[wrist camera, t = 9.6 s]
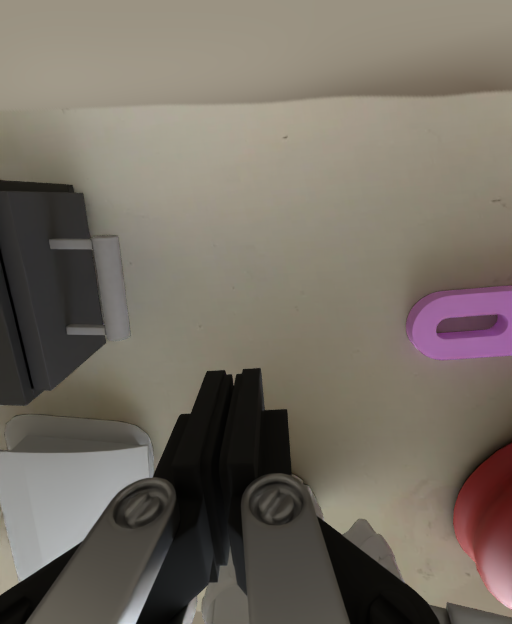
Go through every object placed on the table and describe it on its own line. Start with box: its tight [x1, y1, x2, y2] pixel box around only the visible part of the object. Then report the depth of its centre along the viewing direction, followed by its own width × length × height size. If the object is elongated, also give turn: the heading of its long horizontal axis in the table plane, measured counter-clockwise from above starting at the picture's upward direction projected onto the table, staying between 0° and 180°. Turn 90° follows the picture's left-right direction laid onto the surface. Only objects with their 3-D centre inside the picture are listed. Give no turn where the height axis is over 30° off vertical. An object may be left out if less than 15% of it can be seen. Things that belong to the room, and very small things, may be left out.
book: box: [0, 414, 154, 583], centre depth 35 cm, size 15×23×4 cm, turn 176°
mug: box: [201, 474, 405, 624], centre depth 28 cm, size 11×17×17 cm, turn 92°
